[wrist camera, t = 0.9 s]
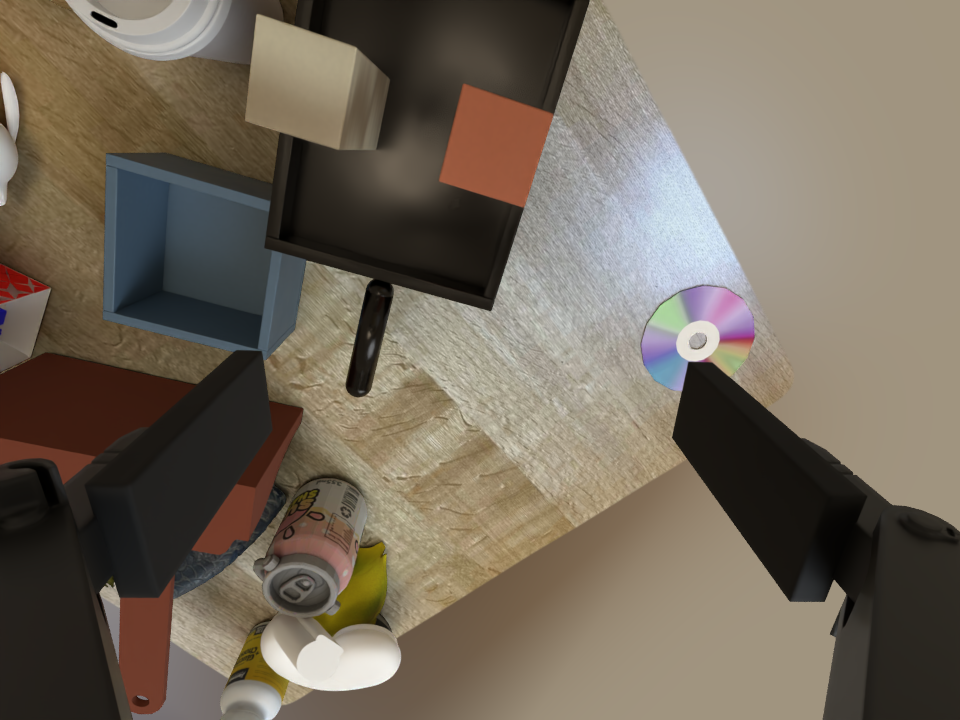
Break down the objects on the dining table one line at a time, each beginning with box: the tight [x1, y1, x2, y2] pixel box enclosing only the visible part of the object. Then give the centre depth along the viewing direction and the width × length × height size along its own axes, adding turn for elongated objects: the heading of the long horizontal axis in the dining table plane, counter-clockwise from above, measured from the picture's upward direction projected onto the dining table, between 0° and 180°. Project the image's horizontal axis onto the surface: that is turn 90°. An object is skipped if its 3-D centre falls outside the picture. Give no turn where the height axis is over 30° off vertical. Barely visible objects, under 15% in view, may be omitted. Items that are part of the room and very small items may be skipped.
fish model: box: [173, 484, 286, 599], centre depth 55 cm, size 7×21×5 cm, turn 130°
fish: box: [312, 542, 387, 637], centre depth 58 cm, size 3×16×10 cm
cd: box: [641, 286, 754, 391], centre depth 50 cm, size 11×11×1 cm
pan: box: [264, 0, 590, 397], centre depth 37 cm, size 28×15×15 cm, turn 163°
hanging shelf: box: [0, 353, 303, 714], centre depth 49 cm, size 24×13×30 cm
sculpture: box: [260, 612, 401, 691], centre depth 50 cm, size 12×15×8 cm
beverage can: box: [253, 478, 367, 618], centre depth 51 cm, size 9×8×12 cm
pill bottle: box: [220, 621, 289, 720], centre depth 58 cm, size 6×6×12 cm
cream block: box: [245, 14, 390, 150], centre depth 25 cm, size 4×4×10 cm
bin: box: [103, 153, 306, 360], centre depth 42 cm, size 13×13×8 cm
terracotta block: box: [439, 84, 553, 207], centre depth 26 cm, size 4×4×10 cm
